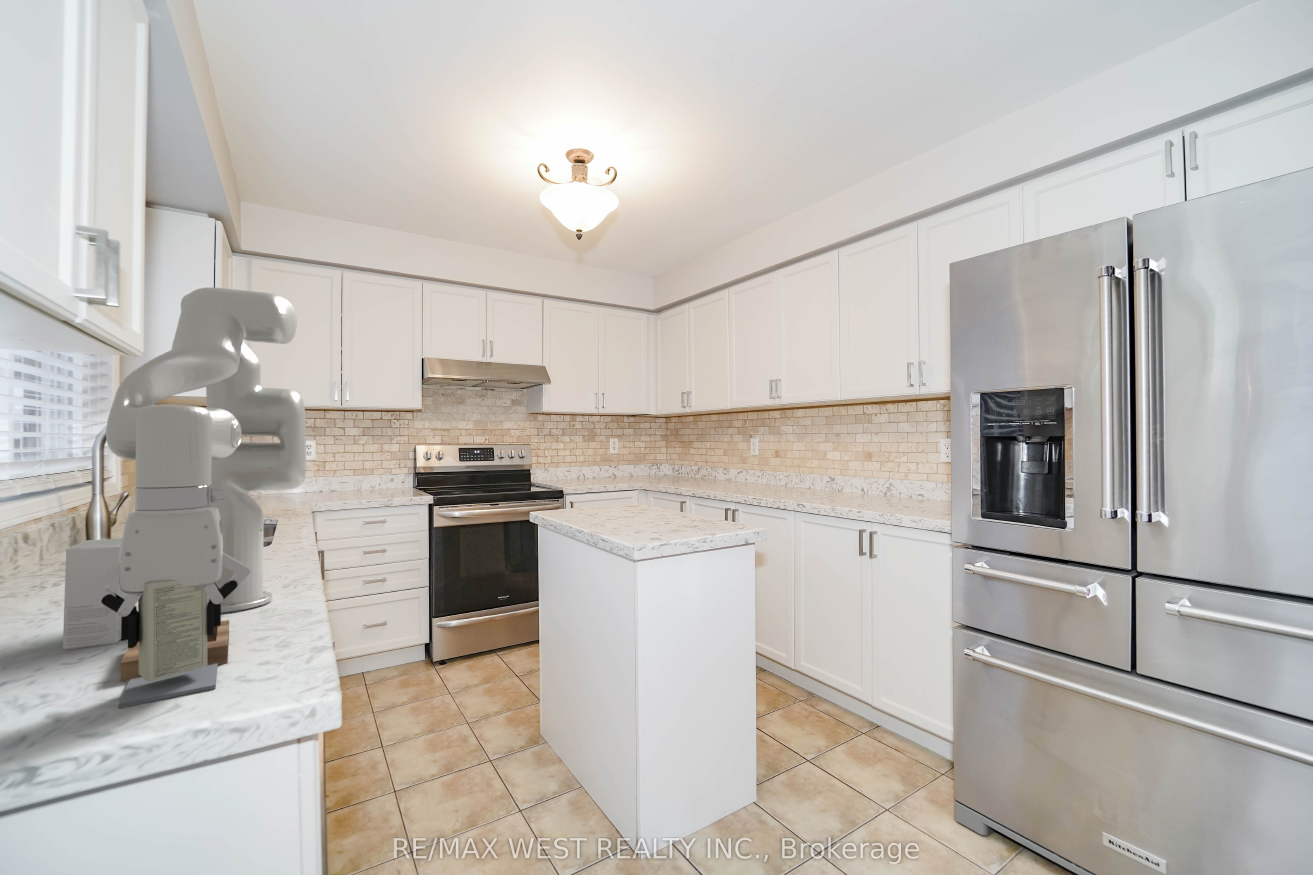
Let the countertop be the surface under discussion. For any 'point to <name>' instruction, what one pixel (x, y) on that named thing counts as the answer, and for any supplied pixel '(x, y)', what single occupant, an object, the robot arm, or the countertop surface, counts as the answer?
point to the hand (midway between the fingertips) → (173, 637)
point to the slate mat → (169, 686)
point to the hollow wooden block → (215, 653)
